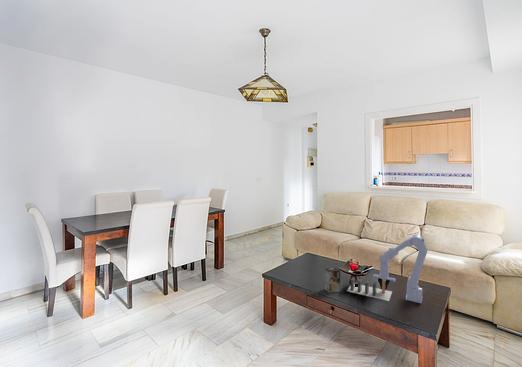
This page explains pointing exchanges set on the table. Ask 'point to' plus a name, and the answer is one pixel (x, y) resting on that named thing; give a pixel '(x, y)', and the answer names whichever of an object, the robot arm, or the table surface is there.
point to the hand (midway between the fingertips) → (383, 289)
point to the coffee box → (332, 280)
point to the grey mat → (370, 293)
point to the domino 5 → (383, 286)
